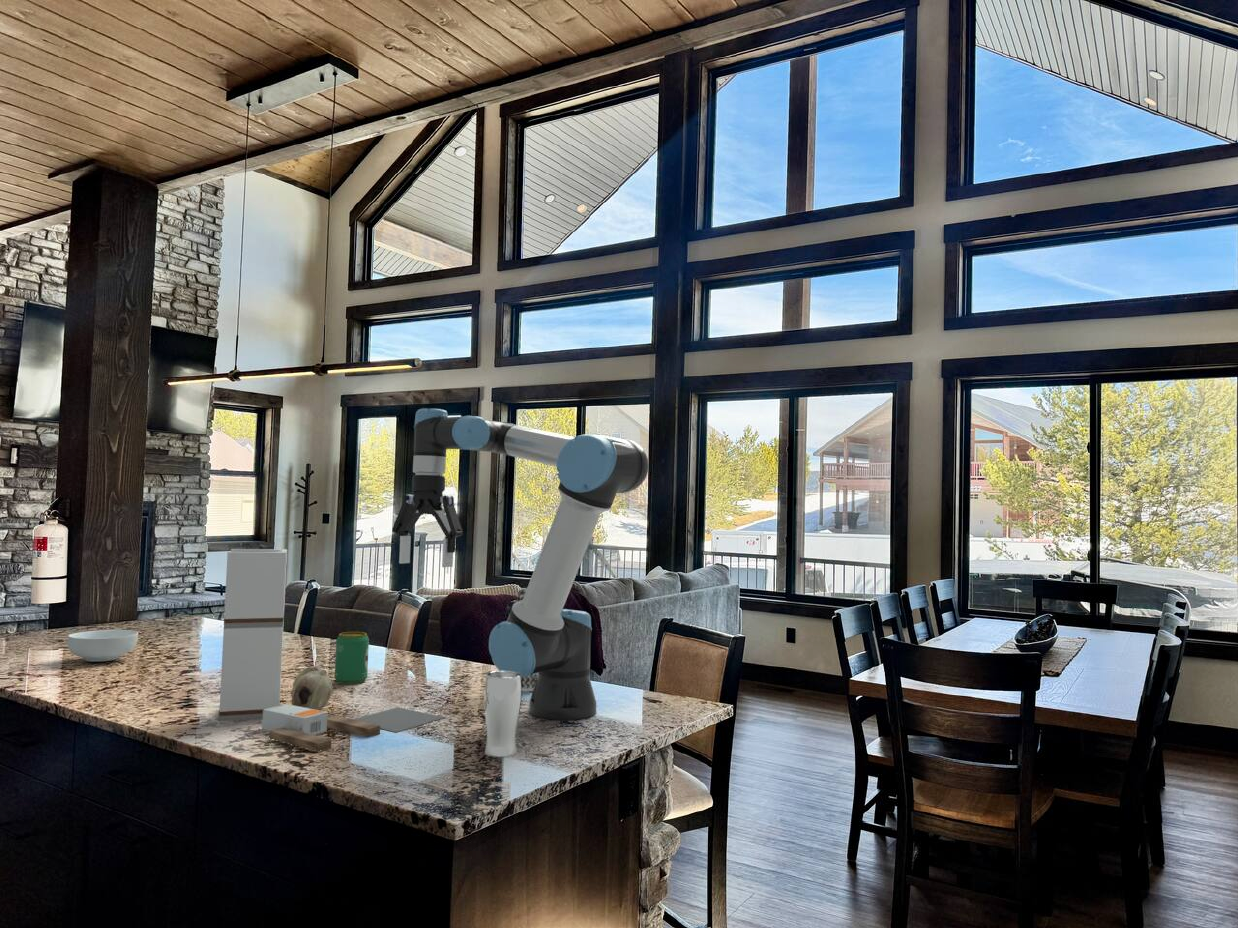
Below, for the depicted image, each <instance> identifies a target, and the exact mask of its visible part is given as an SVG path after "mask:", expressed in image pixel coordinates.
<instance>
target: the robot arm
mask: <svg viewBox="0 0 1238 928" xmlns="http://www.w3.org/2000/svg"><path fill="white" fill-rule="evenodd" d="M448 415H449V414H448V411H447V410H444V409H441V408H419V409H418V410H417V411H416V412H415V416H414V417H415V418H414V425H413V428H414V431H413V433H414V434H413V435H414V436H413V462H412V473H415V474H414V475H413V476H412V483H411V485H412V486H411V487H412V491H413V492H414V494H403V496H402V504H401V506H400V509H399V512H398V514H397V517H396V519H395V521H394V524H393V526H392V528H391V531H392V533H394V534H397V536H398V545H397V546H398V549H399V557H398V558H399V561H398V564H401V565H402V564H411V544H412V543H411V542H412V540H411V538H412V536H411V534H410V532H411V530H412V529H413V528H414V526H415V525H416V523H417V522H418V520H419V519H420V518H421V516H423V515H431V516H432V517H434V518H435V520H436V523H438V526H439V527H440V529H441V530H442V532H443V534H444V537H443V539H442V559H441V561H442V562H441V563H442V564H441V567H442V568H451V567H452V568H453V565H454V564H453V563H454V553H455V552H456V539H457V538H458V537H462V536H463V535H464V532H463V531H464V530H463V528H462V525H461V521H460V519H459V516H458V513H457V511H456V507H455V499H454V496H453V495H443V492H445V489H446V477H445V476H444V474H445V473H446V468H447V467H446V461H447V450H465V451H466V450H468V451H475V452H476V451H477V452H488V453H494V454H499V455H500V454H501V455H505V456H510V457H515V458H518V459H522V460H527V461H530V462H536V463H540V464H544V465H547V466H552V467H556V471H557V472H558V473H557V477H558V480H559V481H560V482H559V483H558V487H557V490H558V491H559V494H560V497H561V499H560V502H559V504H558V507H557V509H556V512H555V515H554V518H553V520H552V523H551V525H550V528H549V531H548V534H547V536H546V538H545V541H544V544H543V546H542V549H541V551H540V554H539V556H538V559H537V561H536V564H535V567H534V570H533V572H532V575H531V577H530V580H529V583H528V585H527V586H526V588H527V590H526V593H525V595H524V598H523V600H521V601H518V602H516V601H515V602H514V603H513V605H512V607H511V609H510V612H509V614H508V617H507V620H504V621H501V622H499V623H498V624H496V625H495V626H494V627H493V628H492V629H491V632H490V633H489V634H490V635H489V639H488V651H489V655H490V657H491V660H492V662H493V664H494V665H495V667H496V668H497V669H498V670H497V671H515V672H519V673H520V674H521V677H526V676H529V675H531V674H534V673H538V679H537V682H536V684H535V687H534V690H533V691H532V694H531V697H530V699H529V704H528V705H529V707H528V711H529V712H528V713H530V715H532V716H533V717H538V718H541V719H544V720H545V719H547V720H555V721H557V720H558V721H572V720H573V721H574V720H575V721H576V720H582V719H587V718H591V717H593V716H594V715H596V713H597V699H596V698H595V697H596V696H595V693H594V692H595V691H594V689H593V686H592V685H593V684H592V681H591V677H590V672H591V671H590V669H591V668H590V667H591V646H592V645H591V643H592V630H593V628H592V617H591V614H590V613H588V612H587V611H584V610H575V609H568V608H564V606H565V605H566V602H567V598H568V596H569V594H570V592H571V589H572V586H573V584H574V582H575V579H576V576H577V575H578V571H579V569H580V566H581V564H582V561H583V559H584V556H585V554H586V551H587V549H588V547H589V544H590V541H591V539H592V536H593V534H594V532H595V528H596V526H597V523H598V521H599V519H600V516H601V514H602V513H604V512H607V511H609V510H611V508H612V506H613V503H614V502H615V501H614V500H615V499H616V497H617V494H627V493H629V492H632V491H635V490H637V489H638V488H639V487H640V486H641V485H642V484H643V483H644V481H646V477H648V473H649V466H650V465H649V459H648V456H647V453H646V451H645V450H644V448H643V447H642V446H641V445H640V444H638V443H637V442H636V441H634V440H630V439H627V438H622V437H621V438H620V437H613V436H610V435H609V436H608V435H603V434H601V433H586V434H585V433H584V434H580V435H577V436H571V435H566V434H561V433H556V432H552V431H547V430H543V429H541V430H540V429H536V428H532V427H526V426H524V425H523V426H522V425H518V424H516V423H515V424H514V423H511V422H505V421H497V420H488V419H484V418H483V417H481V416H476V415H473V416H472V415H464V416H463V415H462V416H451V417H450V416H448Z"/></svg>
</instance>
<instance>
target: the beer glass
mask: <svg viewBox="0 0 1238 928" xmlns="http://www.w3.org/2000/svg"><path fill="white" fill-rule="evenodd" d="M521 705H522V691H521V674H520V673H519V672H515V671H499V670H493V671H489V672H486V674H485V683H484V693H483V709H484V719H485V724H486V725H485V726H486V733H487V734H486V744H485V749H484V754H485V755H486V756H489V757H494V758H505V757H511V756H514V755H516V754H518V750H517V749H518V748H517V741H516V740H517V739H516V734H517V727H518V722H519V716H520V711H521Z"/></svg>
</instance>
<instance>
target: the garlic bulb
mask: <svg viewBox="0 0 1238 928" xmlns="http://www.w3.org/2000/svg"><path fill="white" fill-rule="evenodd" d="M327 673H328V671H327V670H323V669H322V668H321V667H319V665H312V666H308V667H306V668H304V669H303V670H301V671H300V672H299V673H298V674H297V675H296V677H295V679H294V680H293V682H292V683H293V684H292V689H291V695H290V696H291V700H290V701H291V702H290V703H291V705H294V706H299V707H304V708H309V709H315V710H320V711H323V709H324V708H325V707H326V706H327V704H328V703H329V701H330V699H331V697H332V694H333V683H332V680H331V678H330V676H329V675H328V674H327Z"/></svg>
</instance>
